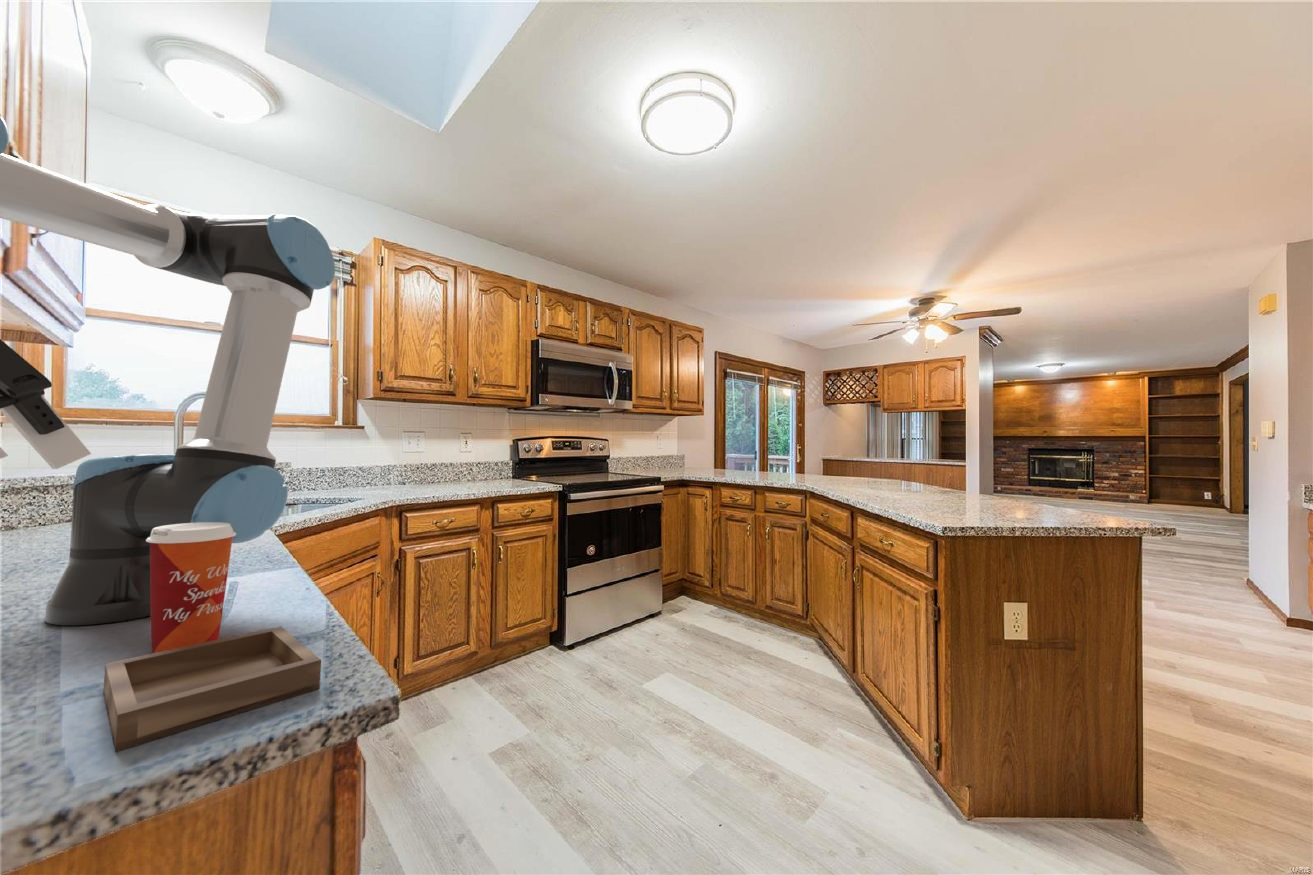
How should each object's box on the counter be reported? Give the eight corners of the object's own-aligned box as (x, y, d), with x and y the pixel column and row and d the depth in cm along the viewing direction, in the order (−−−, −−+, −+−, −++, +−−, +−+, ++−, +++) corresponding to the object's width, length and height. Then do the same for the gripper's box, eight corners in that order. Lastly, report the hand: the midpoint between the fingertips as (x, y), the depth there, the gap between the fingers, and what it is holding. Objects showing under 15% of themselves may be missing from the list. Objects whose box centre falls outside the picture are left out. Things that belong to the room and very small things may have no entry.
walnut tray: (103, 693, 49) (105, 663, 49) (279, 650, 60) (280, 626, 60) (115, 752, 40) (117, 714, 40) (319, 688, 51) (321, 659, 51)
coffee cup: (172, 663, 56) (181, 532, 56) (119, 655, 57) (127, 528, 58) (247, 636, 64) (254, 523, 64) (198, 630, 65) (205, 519, 66)
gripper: (-332, 267, 39) (-96, 483, 49) (-173, 224, 32) (61, 483, 42) (-177, 251, 45) (4, 445, 55) (-18, 212, 39) (154, 440, 49)
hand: (29, 462), depth 49 cm, fingers open, 13 cm apart
